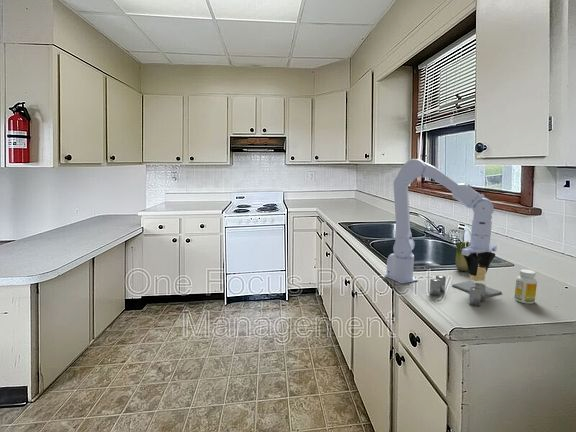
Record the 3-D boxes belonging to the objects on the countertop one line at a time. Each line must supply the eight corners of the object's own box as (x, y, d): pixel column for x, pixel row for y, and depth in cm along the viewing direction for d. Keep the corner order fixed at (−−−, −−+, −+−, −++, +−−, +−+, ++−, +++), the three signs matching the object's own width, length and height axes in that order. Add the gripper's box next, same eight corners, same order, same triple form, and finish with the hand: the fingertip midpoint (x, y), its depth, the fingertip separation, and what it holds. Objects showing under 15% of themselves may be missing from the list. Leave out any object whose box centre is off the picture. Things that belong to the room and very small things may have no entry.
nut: (466, 277, 121) (467, 264, 120) (475, 275, 123) (476, 262, 122) (479, 281, 116) (480, 268, 116) (488, 279, 118) (489, 266, 118)
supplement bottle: (512, 300, 111) (515, 271, 109) (516, 296, 115) (519, 267, 113) (533, 305, 107) (536, 275, 106) (536, 300, 111) (539, 271, 109)
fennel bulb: (453, 270, 142) (455, 241, 141) (458, 267, 146) (460, 239, 144) (468, 273, 138) (471, 243, 136) (473, 270, 141) (476, 241, 140)
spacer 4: (471, 299, 112) (472, 284, 111) (477, 297, 113) (479, 282, 113) (480, 302, 109) (481, 287, 109) (486, 301, 111) (487, 285, 110)
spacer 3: (466, 303, 108) (467, 288, 108) (473, 302, 110) (474, 286, 109) (475, 307, 106) (476, 291, 105) (482, 305, 107) (483, 289, 106)
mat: (452, 286, 124) (452, 284, 124) (469, 282, 128) (469, 280, 127) (483, 297, 113) (483, 296, 113) (501, 293, 117) (502, 291, 117)
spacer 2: (433, 290, 120) (434, 275, 119) (439, 288, 121) (440, 274, 121) (440, 293, 117) (441, 278, 117) (446, 291, 119) (447, 277, 118)
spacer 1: (427, 294, 116) (428, 279, 116) (434, 292, 118) (435, 278, 117) (434, 297, 114) (435, 282, 113) (441, 295, 115) (442, 280, 114)
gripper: (476, 238, 111) (473, 280, 113) (506, 234, 117) (503, 274, 119) (457, 234, 117) (454, 274, 119) (486, 231, 123) (483, 268, 125)
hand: (477, 273), depth 119 cm, fingers closed on nut, 4 cm apart
